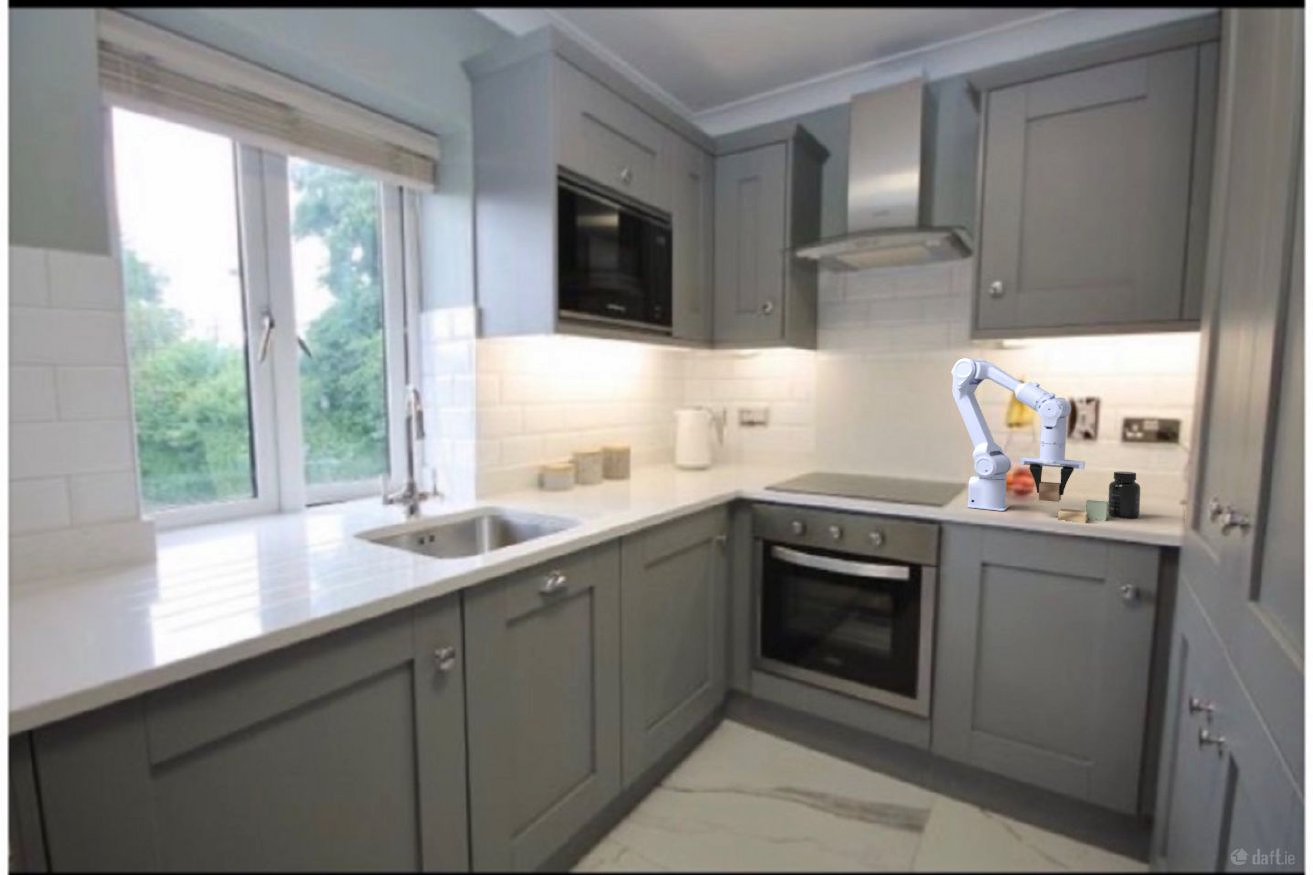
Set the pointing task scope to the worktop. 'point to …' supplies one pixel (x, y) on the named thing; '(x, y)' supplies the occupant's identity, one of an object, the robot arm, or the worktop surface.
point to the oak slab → (1073, 515)
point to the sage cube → (1097, 509)
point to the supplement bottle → (1124, 496)
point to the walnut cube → (1049, 491)
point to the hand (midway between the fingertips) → (1050, 493)
